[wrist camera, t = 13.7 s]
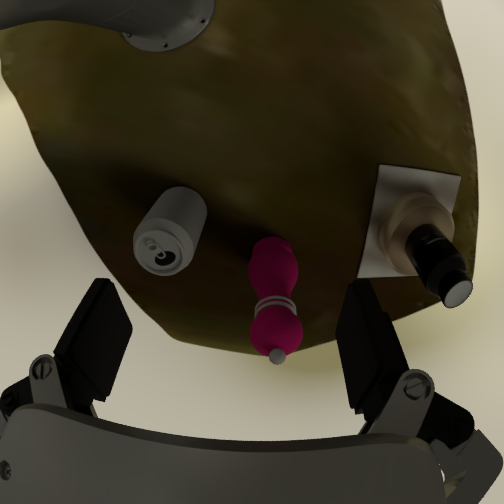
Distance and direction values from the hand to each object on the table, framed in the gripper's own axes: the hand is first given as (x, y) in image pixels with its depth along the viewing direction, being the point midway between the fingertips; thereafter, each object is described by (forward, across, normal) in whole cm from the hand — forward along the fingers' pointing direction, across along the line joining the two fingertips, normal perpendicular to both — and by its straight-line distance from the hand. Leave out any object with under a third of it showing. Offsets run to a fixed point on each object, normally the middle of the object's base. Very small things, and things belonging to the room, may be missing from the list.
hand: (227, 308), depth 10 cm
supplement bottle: (+24, -26, +12) cm, 37 cm away
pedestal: (+28, -26, +12) cm, 40 cm away
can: (+28, +10, +9) cm, 32 cm away
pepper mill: (+28, -3, +17) cm, 33 cm away
